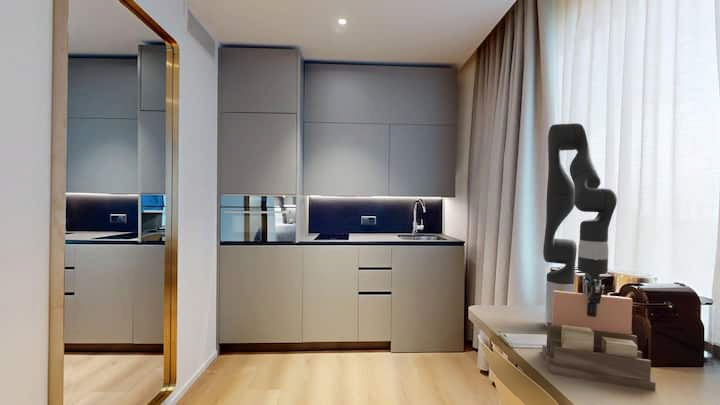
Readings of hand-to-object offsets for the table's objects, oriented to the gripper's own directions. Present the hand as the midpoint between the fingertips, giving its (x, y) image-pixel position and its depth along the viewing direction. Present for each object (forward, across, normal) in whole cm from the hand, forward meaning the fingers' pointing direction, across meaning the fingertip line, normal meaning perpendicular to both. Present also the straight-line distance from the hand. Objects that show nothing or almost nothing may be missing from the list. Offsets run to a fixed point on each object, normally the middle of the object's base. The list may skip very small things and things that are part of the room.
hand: (590, 314), depth 111 cm
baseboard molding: (+15, -12, -8) cm, 21 cm away
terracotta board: (+12, 0, 0) cm, 12 cm away
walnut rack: (+14, +4, 0) cm, 15 cm away
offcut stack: (+12, +8, 0) cm, 15 cm away
